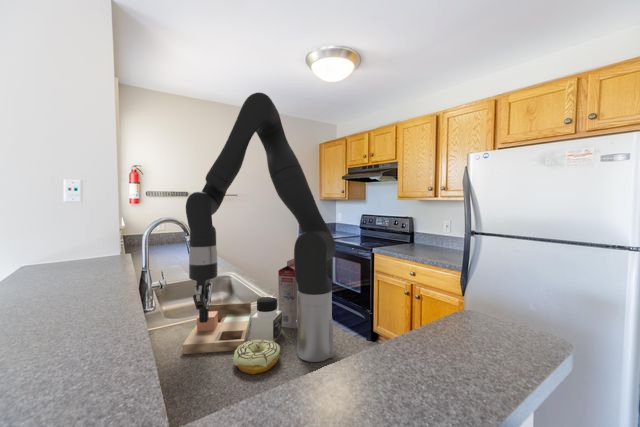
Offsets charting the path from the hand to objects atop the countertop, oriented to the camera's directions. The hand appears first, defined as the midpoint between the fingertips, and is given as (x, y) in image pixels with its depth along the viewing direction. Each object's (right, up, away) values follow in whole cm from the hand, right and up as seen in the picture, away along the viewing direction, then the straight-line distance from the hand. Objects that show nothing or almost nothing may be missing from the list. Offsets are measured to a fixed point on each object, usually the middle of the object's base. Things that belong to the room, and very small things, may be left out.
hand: (204, 321), depth 80 cm
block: (-1, -4, +5) cm, 7 cm away
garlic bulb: (+14, -7, +25) cm, 30 cm away
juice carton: (+24, -7, +15) cm, 29 cm away
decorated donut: (+17, -7, -10) cm, 21 cm away
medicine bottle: (+17, -7, +5) cm, 19 cm away
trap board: (+3, -6, +6) cm, 9 cm away
